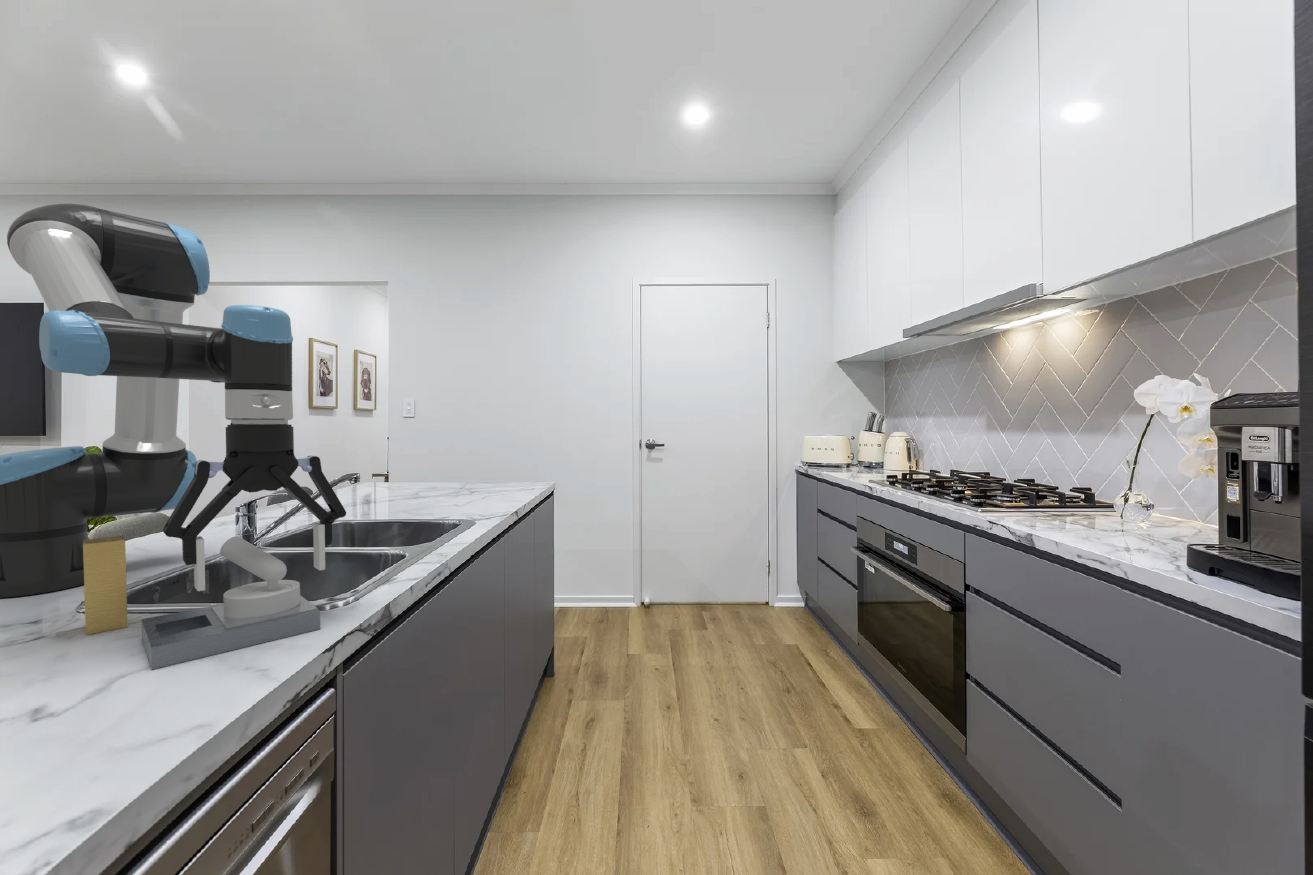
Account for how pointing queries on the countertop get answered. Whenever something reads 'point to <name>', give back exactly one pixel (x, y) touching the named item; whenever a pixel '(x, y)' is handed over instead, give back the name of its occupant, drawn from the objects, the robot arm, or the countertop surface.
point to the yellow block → (105, 584)
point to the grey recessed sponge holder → (219, 632)
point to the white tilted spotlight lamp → (258, 583)
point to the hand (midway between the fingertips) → (263, 578)
